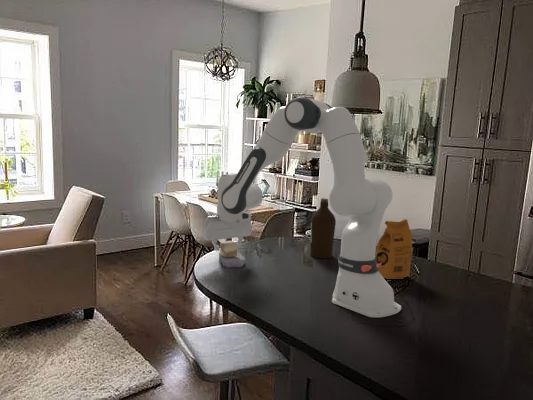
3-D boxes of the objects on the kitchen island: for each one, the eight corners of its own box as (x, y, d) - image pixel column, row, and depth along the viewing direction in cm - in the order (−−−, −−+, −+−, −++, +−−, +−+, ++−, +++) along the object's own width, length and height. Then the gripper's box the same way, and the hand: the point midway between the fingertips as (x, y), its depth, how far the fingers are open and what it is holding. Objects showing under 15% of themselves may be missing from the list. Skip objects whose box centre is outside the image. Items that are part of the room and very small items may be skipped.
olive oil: (336, 254, 193) (340, 198, 189) (328, 260, 183) (332, 201, 179) (314, 250, 198) (317, 196, 193) (305, 256, 188) (308, 199, 184)
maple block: (237, 255, 173) (237, 243, 172) (226, 257, 170) (226, 245, 170) (231, 252, 177) (231, 240, 176) (220, 254, 174) (220, 242, 174)
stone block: (239, 262, 183) (216, 259, 180) (242, 251, 182) (219, 248, 179) (246, 272, 172) (222, 269, 169) (249, 261, 171) (225, 257, 168)
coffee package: (369, 274, 167) (374, 218, 164) (394, 271, 173) (399, 216, 169) (388, 283, 159) (393, 224, 155) (413, 279, 164) (418, 221, 161)
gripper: (207, 218, 163) (207, 254, 165) (254, 214, 174) (253, 247, 176) (200, 215, 168) (200, 250, 170) (246, 211, 179) (245, 244, 181)
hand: (227, 248), depth 173 cm, fingers open, 8 cm apart
